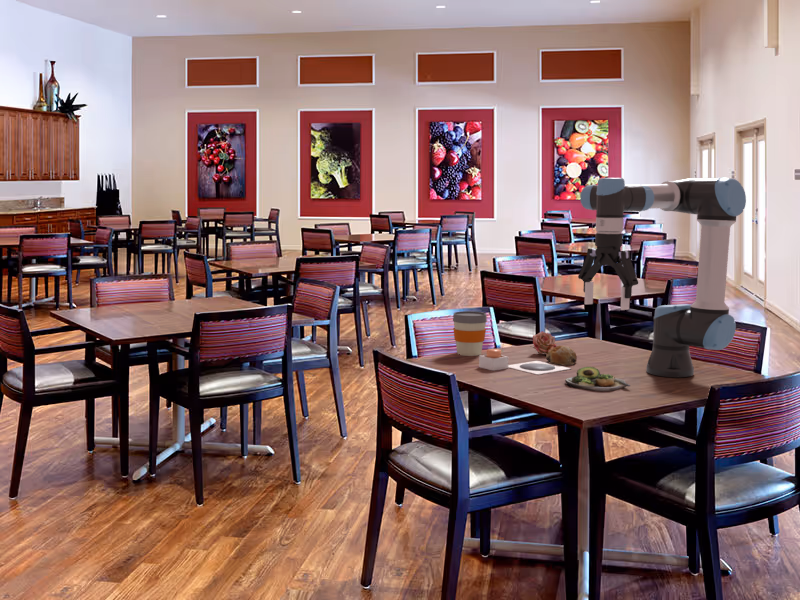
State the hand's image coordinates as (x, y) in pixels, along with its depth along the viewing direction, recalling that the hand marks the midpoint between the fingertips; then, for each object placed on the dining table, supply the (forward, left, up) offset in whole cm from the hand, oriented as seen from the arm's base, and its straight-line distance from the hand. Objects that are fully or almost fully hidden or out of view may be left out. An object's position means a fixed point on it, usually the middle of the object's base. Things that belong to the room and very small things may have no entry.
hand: (606, 306), depth 247 cm
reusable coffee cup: (-15, -76, -28) cm, 82 cm away
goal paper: (-17, -43, -27) cm, 54 cm away
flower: (-37, -59, -28) cm, 75 cm away
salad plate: (-14, -15, -28) cm, 35 cm away
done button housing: (-5, -52, -27) cm, 59 cm away
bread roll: (-31, -45, -28) cm, 61 cm away
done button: (-5, -52, -24) cm, 57 cm away
